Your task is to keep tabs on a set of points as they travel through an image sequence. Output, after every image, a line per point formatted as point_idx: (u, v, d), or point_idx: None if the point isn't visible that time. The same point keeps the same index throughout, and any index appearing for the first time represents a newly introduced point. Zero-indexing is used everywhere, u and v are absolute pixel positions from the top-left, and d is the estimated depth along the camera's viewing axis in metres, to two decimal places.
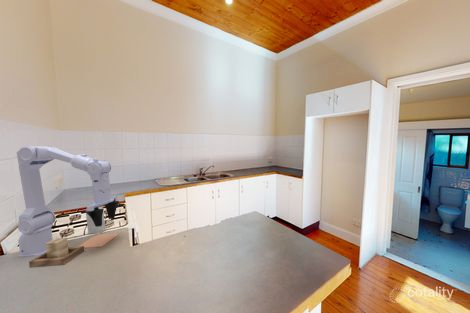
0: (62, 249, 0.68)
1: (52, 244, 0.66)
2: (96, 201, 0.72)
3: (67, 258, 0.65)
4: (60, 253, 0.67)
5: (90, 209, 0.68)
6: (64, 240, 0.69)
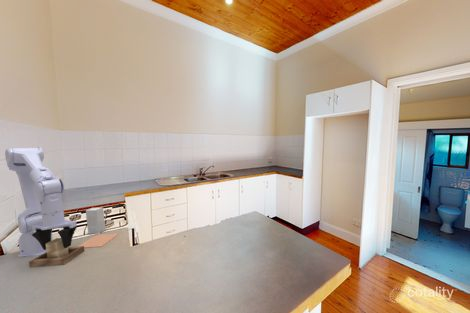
0: (62, 249, 0.68)
1: (52, 244, 0.66)
2: None
3: (67, 258, 0.65)
4: (60, 253, 0.67)
5: None
6: None
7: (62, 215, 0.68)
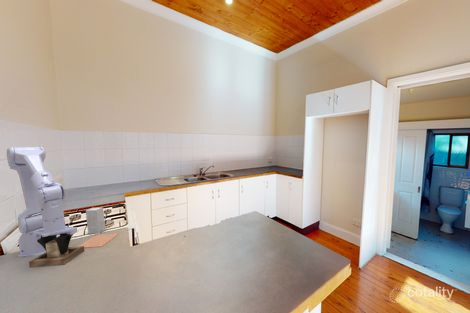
0: None
1: (52, 244, 0.66)
2: None
3: (67, 258, 0.65)
4: None
5: None
6: None
7: (63, 221, 0.68)
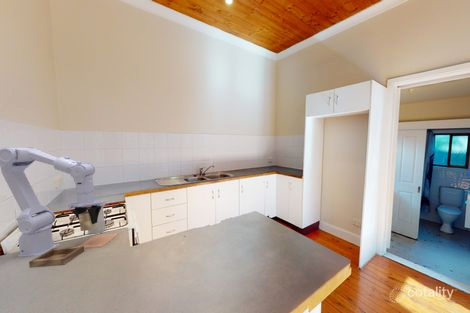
0: None
1: (84, 215, 0.75)
2: None
3: (67, 258, 0.65)
4: (91, 223, 0.76)
5: None
6: None
7: (93, 195, 0.77)
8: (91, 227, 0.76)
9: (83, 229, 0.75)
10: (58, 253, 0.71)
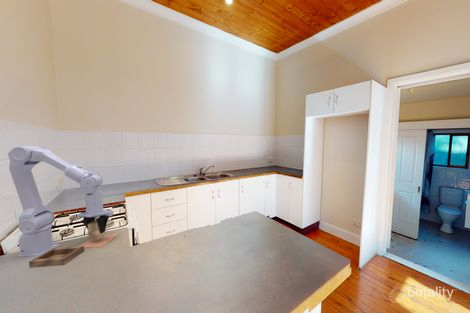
0: None
1: (93, 224, 0.77)
2: None
3: (67, 258, 0.65)
4: None
5: None
6: None
7: (101, 205, 0.80)
8: (100, 236, 0.78)
9: (92, 238, 0.78)
10: (58, 253, 0.71)
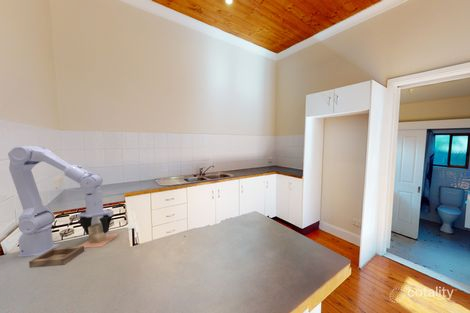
0: (101, 232, 0.79)
1: (93, 228, 0.77)
2: None
3: (67, 258, 0.65)
4: (100, 235, 0.79)
5: None
6: None
7: (101, 205, 0.80)
8: (100, 239, 0.78)
9: (92, 241, 0.78)
10: (58, 253, 0.71)
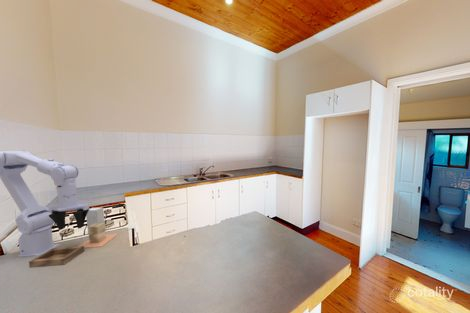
0: (101, 232, 0.79)
1: (93, 228, 0.77)
2: None
3: (67, 258, 0.65)
4: (100, 235, 0.79)
5: None
6: (102, 225, 0.80)
7: (76, 198, 0.74)
8: (100, 239, 0.78)
9: (92, 241, 0.78)
10: (58, 253, 0.71)
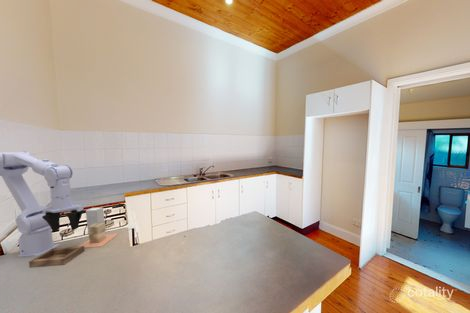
0: (101, 232, 0.79)
1: (93, 228, 0.77)
2: None
3: (67, 258, 0.65)
4: (100, 235, 0.79)
5: None
6: (102, 225, 0.80)
7: (70, 199, 0.73)
8: (100, 239, 0.78)
9: (92, 241, 0.78)
10: (58, 253, 0.71)
